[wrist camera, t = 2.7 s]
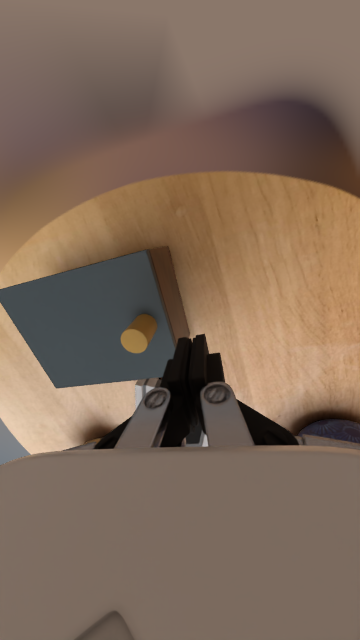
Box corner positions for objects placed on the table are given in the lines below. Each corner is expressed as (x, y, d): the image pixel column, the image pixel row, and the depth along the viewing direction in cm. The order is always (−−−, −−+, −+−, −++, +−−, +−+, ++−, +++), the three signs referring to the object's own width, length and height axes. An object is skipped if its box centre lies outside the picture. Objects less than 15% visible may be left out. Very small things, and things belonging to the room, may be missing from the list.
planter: (262, 444, 38) (295, 562, 24) (316, 390, 31) (408, 514, 17) (335, 471, 38) (408, 602, 24) (405, 425, 31) (565, 573, 17)
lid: (0, 289, 20) (-48, 300, 16) (148, 249, 16) (131, 251, 12) (60, 384, 25) (34, 409, 21) (183, 370, 21) (179, 398, 17)
